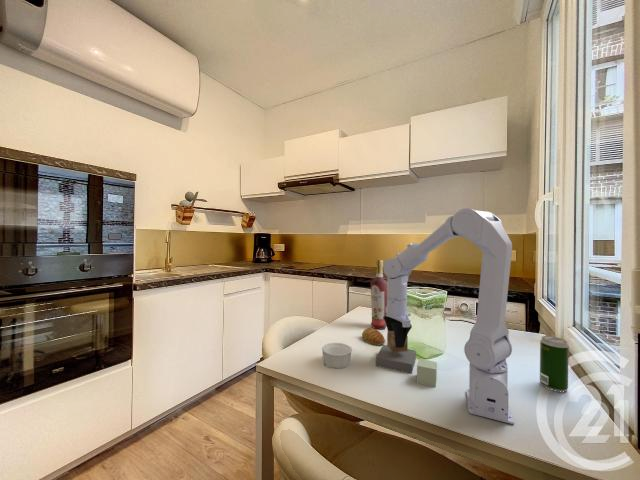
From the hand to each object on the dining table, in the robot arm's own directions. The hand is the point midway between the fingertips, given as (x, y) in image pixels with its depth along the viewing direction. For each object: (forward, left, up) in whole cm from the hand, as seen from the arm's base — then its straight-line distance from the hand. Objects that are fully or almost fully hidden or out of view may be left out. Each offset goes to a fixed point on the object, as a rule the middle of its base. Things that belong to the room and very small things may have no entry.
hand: (396, 343), depth 80 cm
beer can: (+4, -38, -6) cm, 39 cm away
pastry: (+14, +10, -6) cm, 19 cm away
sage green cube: (-7, -9, -6) cm, 13 cm away
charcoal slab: (0, 0, -6) cm, 6 cm away
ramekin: (-8, +16, -6) cm, 19 cm away
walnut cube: (0, 0, -2) cm, 2 cm away
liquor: (+29, +12, -6) cm, 32 cm away
